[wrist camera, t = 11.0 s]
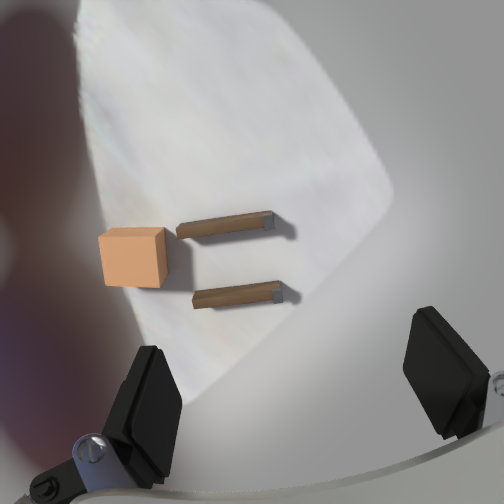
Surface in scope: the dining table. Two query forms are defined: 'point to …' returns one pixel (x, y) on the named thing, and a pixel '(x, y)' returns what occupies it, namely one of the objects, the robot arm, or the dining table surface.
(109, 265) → the light orange block
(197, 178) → the dining table surface
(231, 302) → the brown wooden rail pair
